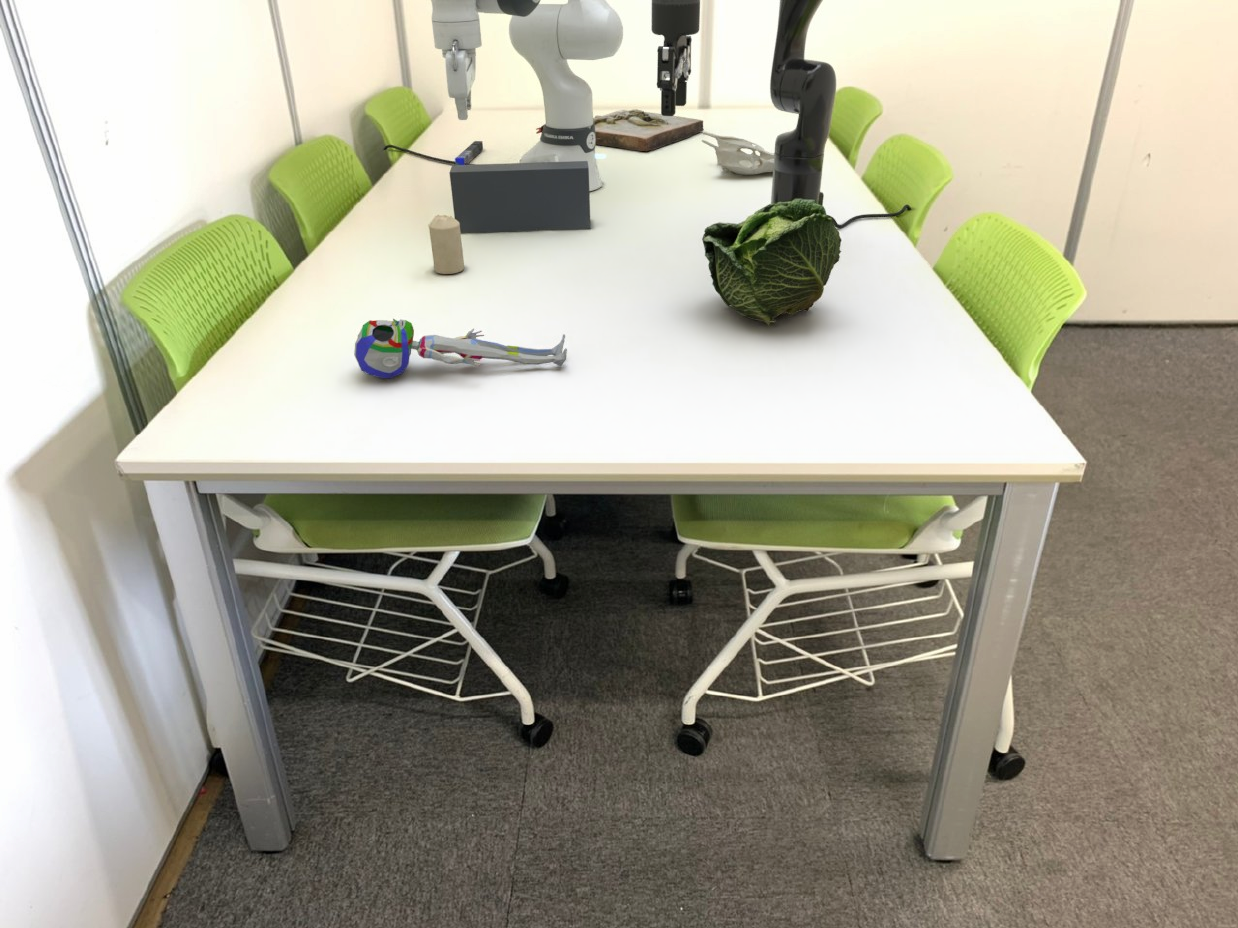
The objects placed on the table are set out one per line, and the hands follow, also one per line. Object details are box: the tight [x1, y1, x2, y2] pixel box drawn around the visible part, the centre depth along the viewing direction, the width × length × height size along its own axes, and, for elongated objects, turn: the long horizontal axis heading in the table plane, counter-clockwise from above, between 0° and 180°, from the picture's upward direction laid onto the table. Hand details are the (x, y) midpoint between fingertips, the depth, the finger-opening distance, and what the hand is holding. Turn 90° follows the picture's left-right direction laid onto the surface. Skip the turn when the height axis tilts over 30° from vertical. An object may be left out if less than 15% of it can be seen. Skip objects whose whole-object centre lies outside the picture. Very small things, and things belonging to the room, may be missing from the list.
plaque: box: [593, 108, 705, 152], centre depth 257 cm, size 30×7×30 cm
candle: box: [428, 214, 465, 275], centre depth 165 cm, size 6×6×10 cm
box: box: [449, 161, 592, 234], centre depth 185 cm, size 28×6×12 cm, turn 94°
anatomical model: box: [701, 131, 774, 176], centre depth 221 cm, size 15×9×25 cm
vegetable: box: [701, 198, 843, 326], centre depth 143 cm, size 20×19×20 cm
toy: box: [353, 318, 568, 379], centre depth 130 cm, size 10×8×30 cm
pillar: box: [454, 140, 484, 165], centre depth 238 cm, size 2×2×20 cm
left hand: (465, 114), depth 176 cm, fingers open, 8 cm apart
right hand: (674, 110), depth 147 cm, fingers open, 8 cm apart
